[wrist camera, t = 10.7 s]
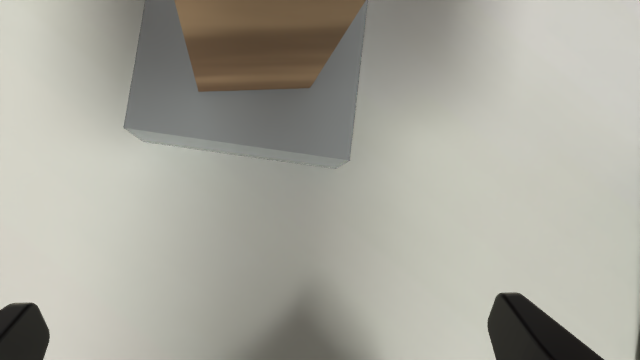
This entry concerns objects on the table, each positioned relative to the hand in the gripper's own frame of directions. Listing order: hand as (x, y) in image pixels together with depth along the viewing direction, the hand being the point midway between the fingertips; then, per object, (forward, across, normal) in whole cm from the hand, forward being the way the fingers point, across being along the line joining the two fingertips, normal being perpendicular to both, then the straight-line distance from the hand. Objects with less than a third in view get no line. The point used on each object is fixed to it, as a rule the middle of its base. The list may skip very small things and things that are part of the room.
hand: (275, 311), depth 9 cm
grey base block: (+15, +2, 0) cm, 15 cm away
